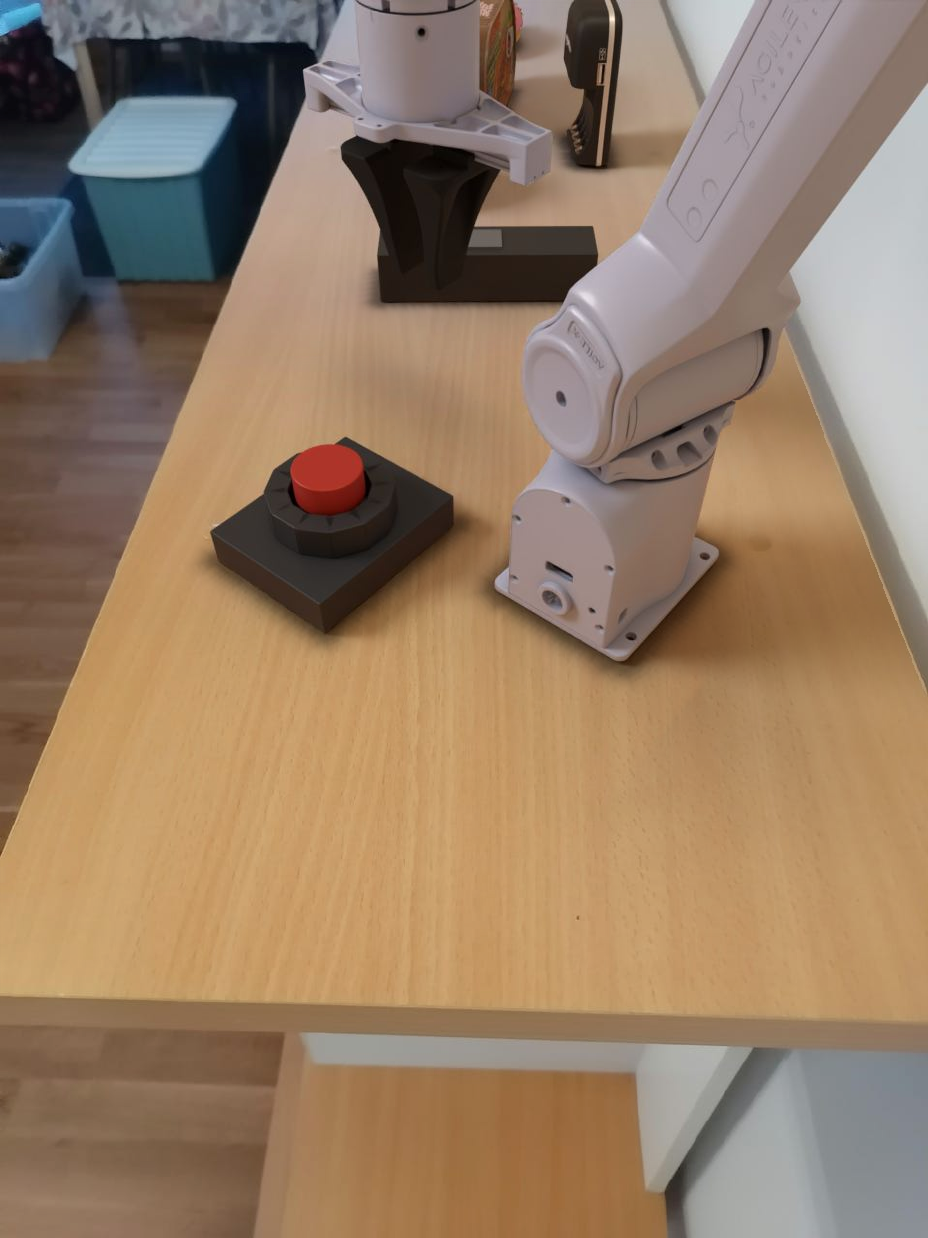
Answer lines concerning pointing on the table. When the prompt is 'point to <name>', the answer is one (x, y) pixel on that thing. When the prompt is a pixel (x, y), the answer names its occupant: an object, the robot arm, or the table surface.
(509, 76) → the tin
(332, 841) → the table surface
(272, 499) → the button block
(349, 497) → the button
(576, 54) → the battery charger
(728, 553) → the table surface
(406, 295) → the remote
